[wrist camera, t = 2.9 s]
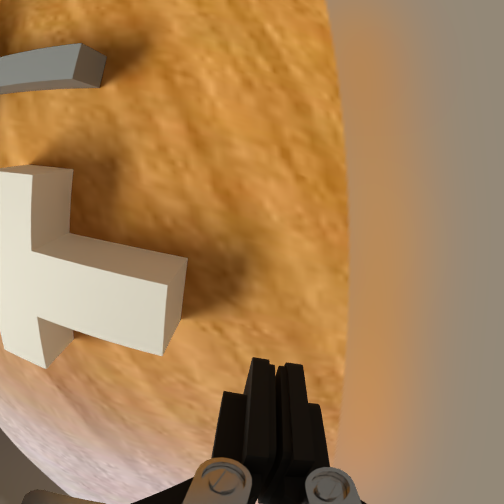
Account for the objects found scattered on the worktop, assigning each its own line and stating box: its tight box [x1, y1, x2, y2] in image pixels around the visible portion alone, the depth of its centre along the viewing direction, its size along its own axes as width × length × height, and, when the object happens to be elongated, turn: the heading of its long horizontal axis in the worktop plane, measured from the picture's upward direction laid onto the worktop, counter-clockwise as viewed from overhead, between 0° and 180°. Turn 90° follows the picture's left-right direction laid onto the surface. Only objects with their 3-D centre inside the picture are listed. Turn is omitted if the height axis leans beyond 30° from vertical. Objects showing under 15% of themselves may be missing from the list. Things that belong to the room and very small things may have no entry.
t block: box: [0, 165, 188, 369], centre depth 16 cm, size 12×12×4 cm
